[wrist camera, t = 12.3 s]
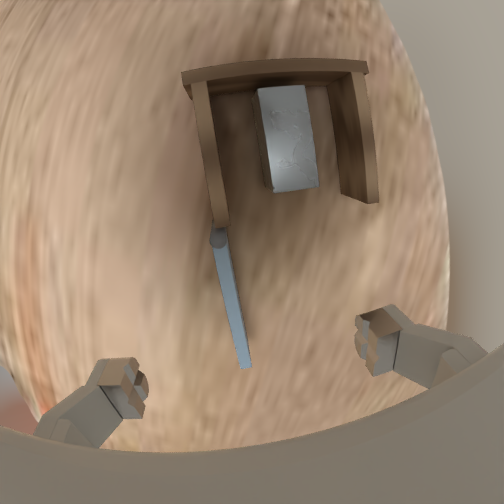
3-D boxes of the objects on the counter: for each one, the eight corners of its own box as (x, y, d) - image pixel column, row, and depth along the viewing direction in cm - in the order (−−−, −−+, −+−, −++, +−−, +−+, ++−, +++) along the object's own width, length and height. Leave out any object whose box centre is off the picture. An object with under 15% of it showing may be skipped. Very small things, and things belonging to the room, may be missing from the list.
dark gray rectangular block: (251, 100, 24) (257, 88, 20) (290, 96, 24) (304, 85, 20) (265, 186, 27) (273, 193, 23) (303, 181, 28) (319, 186, 23)
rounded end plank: (224, 216, 28) (225, 230, 22) (248, 338, 33) (253, 368, 28) (210, 218, 28) (208, 234, 22) (236, 340, 33) (240, 370, 28)
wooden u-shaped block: (189, 89, 23) (181, 72, 17) (340, 75, 24) (366, 61, 18) (211, 214, 28) (208, 229, 22) (355, 191, 28) (384, 201, 23)
